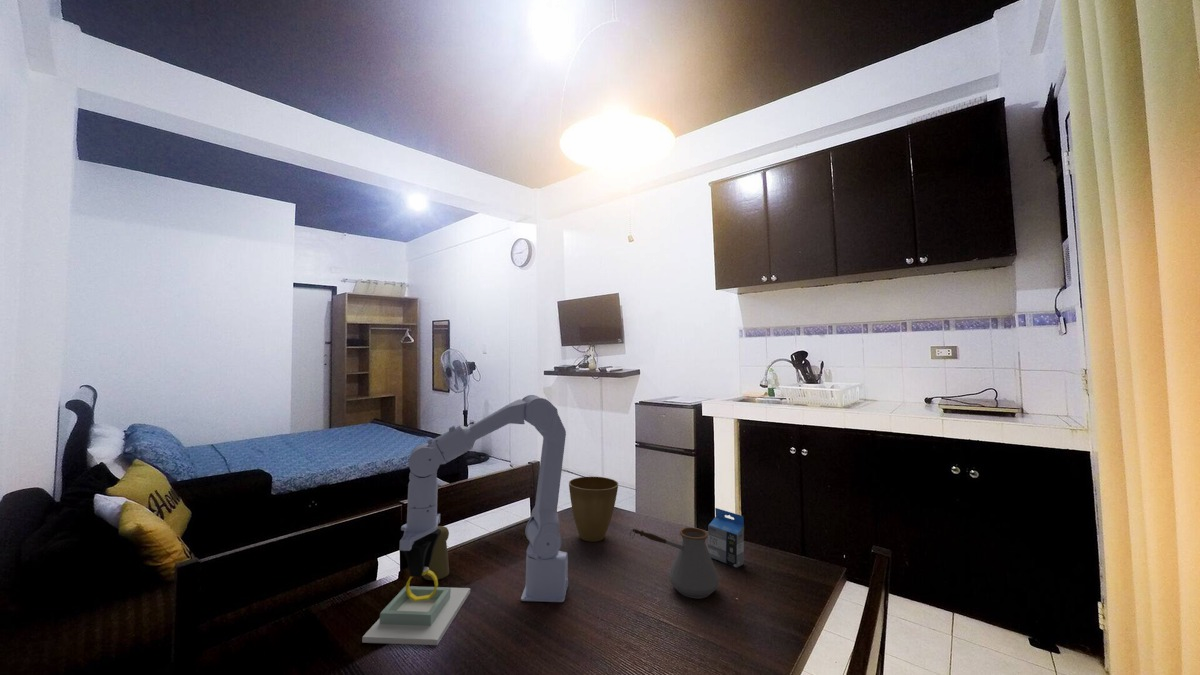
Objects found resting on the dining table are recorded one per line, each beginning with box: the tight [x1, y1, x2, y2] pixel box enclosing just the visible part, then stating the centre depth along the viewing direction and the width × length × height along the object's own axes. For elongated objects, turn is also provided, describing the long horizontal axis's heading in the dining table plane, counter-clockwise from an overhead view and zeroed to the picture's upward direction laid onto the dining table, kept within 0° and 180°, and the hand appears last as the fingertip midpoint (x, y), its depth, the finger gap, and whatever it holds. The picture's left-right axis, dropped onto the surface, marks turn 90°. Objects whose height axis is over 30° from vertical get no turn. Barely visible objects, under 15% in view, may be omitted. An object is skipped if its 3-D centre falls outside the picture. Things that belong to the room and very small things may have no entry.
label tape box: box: [707, 507, 745, 568], centre depth 115 cm, size 9×4×12 cm, turn 42°
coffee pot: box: [629, 526, 720, 600], centre depth 99 cm, size 21×12×15 cm, turn 105°
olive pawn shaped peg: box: [422, 525, 450, 581], centre depth 106 cm, size 6×6×11 cm
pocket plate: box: [361, 585, 471, 646], centre depth 88 cm, size 14×18×3 cm
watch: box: [405, 566, 439, 601], centre depth 88 cm, size 6×3×6 cm, turn 98°
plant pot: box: [568, 476, 619, 543], centre depth 129 cm, size 15×15×16 cm
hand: (419, 571), depth 89 cm, fingers closed on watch, 3 cm apart
